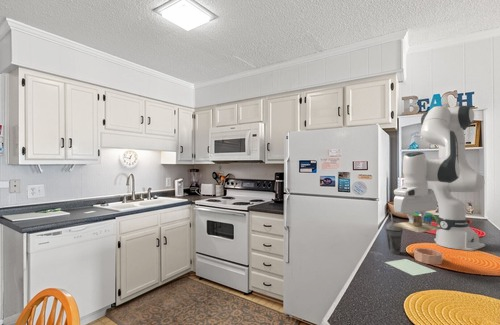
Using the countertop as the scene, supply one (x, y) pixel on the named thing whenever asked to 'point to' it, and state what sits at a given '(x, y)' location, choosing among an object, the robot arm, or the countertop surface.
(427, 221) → the snack cup
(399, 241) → the beverage cup
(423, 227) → the cover
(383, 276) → the countertop surface
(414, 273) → the mat
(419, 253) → the bowl
